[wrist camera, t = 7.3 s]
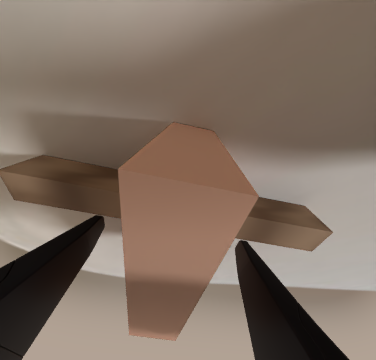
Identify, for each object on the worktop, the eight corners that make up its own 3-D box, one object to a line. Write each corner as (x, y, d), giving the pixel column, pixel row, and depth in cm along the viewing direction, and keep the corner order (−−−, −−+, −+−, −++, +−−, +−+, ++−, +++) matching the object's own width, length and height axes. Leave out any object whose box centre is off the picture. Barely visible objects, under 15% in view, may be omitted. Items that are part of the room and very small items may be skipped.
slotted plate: (213, 131, 10) (258, 196, 3) (183, 236, 16) (175, 340, 9) (173, 122, 10) (118, 169, 3) (158, 231, 16) (129, 335, 9)
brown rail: (305, 206, 13) (333, 232, 10) (289, 224, 14) (311, 251, 11) (42, 154, 11) (-3, 170, 9) (51, 180, 13) (14, 200, 10)
